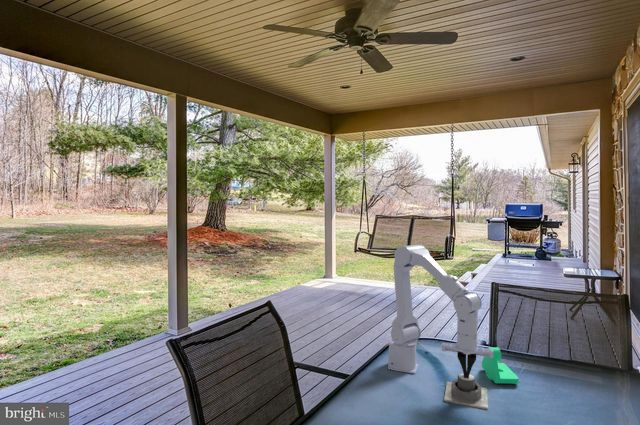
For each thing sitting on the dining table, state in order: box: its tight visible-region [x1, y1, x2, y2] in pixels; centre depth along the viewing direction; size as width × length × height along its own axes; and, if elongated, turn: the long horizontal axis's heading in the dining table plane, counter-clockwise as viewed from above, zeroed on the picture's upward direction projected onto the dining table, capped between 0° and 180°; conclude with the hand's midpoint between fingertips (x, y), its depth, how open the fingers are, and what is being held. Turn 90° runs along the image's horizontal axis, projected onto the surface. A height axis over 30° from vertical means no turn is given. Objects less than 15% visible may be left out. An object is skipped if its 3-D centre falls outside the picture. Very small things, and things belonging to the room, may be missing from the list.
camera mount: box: [481, 346, 520, 385], centre depth 130 cm, size 12×8×10 cm, turn 177°
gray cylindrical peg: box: [457, 372, 476, 391], centre depth 118 cm, size 5×5×5 cm
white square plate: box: [443, 378, 489, 410], centre depth 118 cm, size 12×12×3 cm
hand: (466, 376), depth 118 cm, fingers closed, pressing on gray cylindrical peg
